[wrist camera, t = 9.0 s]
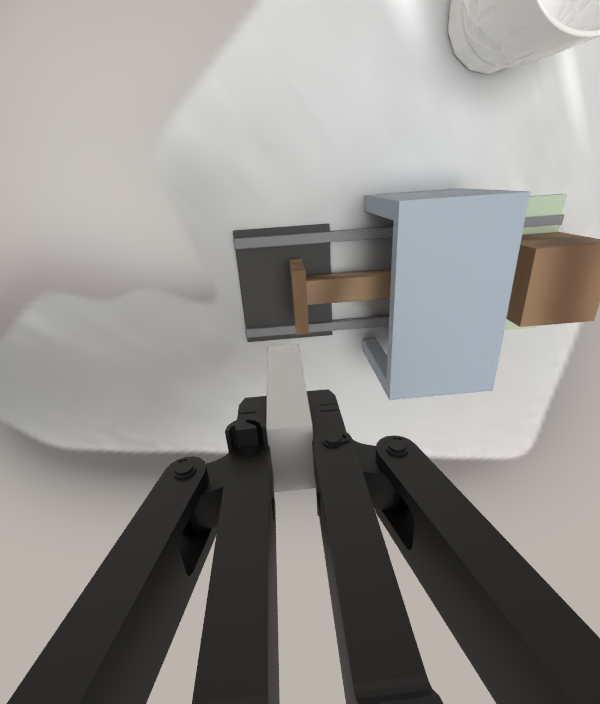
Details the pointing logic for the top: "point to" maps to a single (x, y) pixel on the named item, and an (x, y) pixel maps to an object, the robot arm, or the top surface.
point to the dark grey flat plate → (279, 279)
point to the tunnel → (435, 286)
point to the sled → (527, 290)
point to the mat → (540, 208)
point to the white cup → (518, 30)
